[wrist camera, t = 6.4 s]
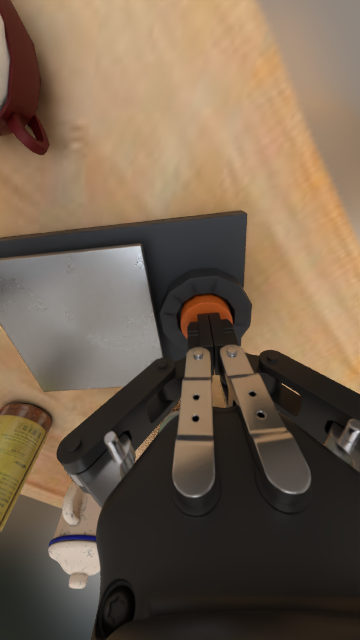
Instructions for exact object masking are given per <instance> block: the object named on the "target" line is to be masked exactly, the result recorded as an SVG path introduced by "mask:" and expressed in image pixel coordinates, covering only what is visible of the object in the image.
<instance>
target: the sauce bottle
mask: <svg viewBox="0 0 360 640" xmlns="http://www.w3.org/2000/svg"><path fill="white" fill-rule="evenodd" d="M50 427H51V418H50V417H49V415H48V414H47V413H46V412H44V411H43V410H42V409H40V408H38V407H35V406H33V405H30V404H22V403H11V404H8V405H6V406H4V407H3V408H1V410H0V533H1V531H2V529H3V527H4V525H5V523H6V521H7V519H8V517H9V515H10V512H11V510H12V508H13V506H14V504H15V502H16V500H17V498H18V496H19V494H20V492H21V490H22V488H23V486H24V484H25V482H26V479H27V477H28V475H29V473H30V471H31V469H32V467H33V465H34V463H35V461H36V459H37V457H38V455H39V453H40V451H41V449H42V446H43V444H44V442H45V440H46V438H47V436H48V431H49V429H50Z"/></svg>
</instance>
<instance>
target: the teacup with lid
mask: <svg viewBox="0 0 360 640" xmlns="http://www.w3.org/2000/svg"><path fill="white" fill-rule="evenodd" d="M62 511H63V513H62V515H61V518H60V521H59V524H58V526H57V529H56V532H55V535H54V538H53V540H51V542H50V543H49V555H50V557H51V558H53V559H54V560H56V561H58V562H59V563H60V565H61V566H62V568H63V569H64V571H65V572H67V573H68V574H71V577H70V580H69V587H71V588H76V589H80V588H84V587H85V585H86V584H87V578H88V577H87V576H91V575H94V574H96V573H98V572H99V571H100V562H99V556H98V551H97V545H96V528H97V522H98V518H99V515H100V512H101V507H100V506H99V505H98V504H97V502H96V501H95V500H94V499H93V497H92V496H91V495H90V494H87V493H84V492H83V491H82V490H81V488H80V487H79V486H78V485H77V484H75V482H74V481H73V482H72V483H71V484H70V486H69V488H68V490H67V492H66V494H65V497H64V501H63V507H62Z"/></svg>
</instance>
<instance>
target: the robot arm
mask: <svg viewBox="0 0 360 640" xmlns="http://www.w3.org/2000/svg"><path fill="white" fill-rule="evenodd" d="M197 320H198V321H196V322H190V323H189V325H188V326H187V334H188V352H187V355H186V356H185V357H184V358H182V359H180V360H178V361H175V362H174V361H173V360H172V359H171V358H167V357H163V358H159V359H156V360H155V361H154V362H152V363H151V364H150V365H149V366H148V367H147V368H145V369H144V370H143V371H142V372H141V373H140V374H138V375H137V376H136V377H135V378H134V379H133V380H131V381H130V382H129V383H128V384H127V385H126V386H124V387H123V388H122V389H121V390H120V391H119V392H117V393H116V394H115V395H114V396H113V397H112V398H110V399H109V400H108V401H107V402H106V403H105V404H103V405H102V406H101V407H100V408H99V409H98V410H96V411H95V412H94V413H93V414H92V415H91V416H89V417H88V418H87V419H86V420H85V421H84V422H82V423H81V424H80V425H79V426H78V427H77V428H75V429H74V430H73V431H72V432H71V433H70V434H68V435H67V436H66V437H65V438H64V439H63V440H62V441H61V443H60V444H59V446H58V449H57V458H58V460H59V461H60V463H61V464H62V465H63V466H64V469H65V471H66V472H67V474H68V475H69V476H70V477H71V479H72V480H73V481H74V482H75V484H77V485H78V486H79V487H80V488H81V490H82V491H83V492H84V493H87V494H90V495H91V496H92V497H93V499H94V500H95V501H96V502H97V504H98V505H99V506H100V507H101V512H100V515H99V518H98V522H97V528H96V545H97V551H98V556H99V562H100V575H101V583H100V584H101V585H100V598H99V605H98V610H97V615H96V619H95V623H94V627H93V631H92V636H91V640H360V394H358V393H356V392H355V391H353V390H351V389H349V388H347V387H345V386H343V385H341V384H339V383H337V382H335V381H334V380H332V379H330V378H328V377H326V376H324V375H322V374H320V373H318V372H316V371H314V370H312V369H311V368H309V367H307V366H305V365H303V364H301V363H299V362H297V361H295V360H293V359H291V358H290V357H288V356H286V355H284V354H282V353H280V352H278V351H274V350H266V351H263V352H262V353H260V355H259V356H257V355H251V354H248V353H245V352H244V350H243V349H242V348H241V347H240V346H239V343H238V340H237V337H236V334H235V331H234V329H233V325H232V323H231V322H230V321H229V320H228V319H221V318H220V314H219V312H218V313H208V314H207V313H206V314H197ZM214 369H215V375H219V376H220V387H221V390H222V394H223V397H224V401H225V405H226V408H219V407H213V406H212V386H211V384H212V375H214ZM282 383H283V384H285V385H286V386H288V387H289V388H291V389H293V390H294V391H296V392H297V393H299V394H300V396H299V395H298V394H296V393H294V392H293V391H291V390H290V389H288V388H287V387H285V386H283V385H282ZM180 398H181V400H180ZM179 400H180V410H179V415H177V416H175V417H174V418H172V419H171V420H170V421H169V422H168V423H167V424H166V425H165V426H164V427H163V429H162V430H161V431H160V432H159V434H158V435H157V436H156V437H155V439H154V440H153V441H152V442H151V444H150V445H149V446H148V447H147V449H146V450H145V451H144V452H143V453H142V455H141V456H140V457H139V458H138V460H137V461H136V462H135V458H136V455H135V450H136V449H137V448H138V447H139V446H140V445H141V444H142V443H143V441H144V440H145V439H146V438H147V437H148V436H149V435H150V434H151V432H152V431H153V430H154V429H155V428H156V427H157V426H158V425H159V423H160V422H161V421H162V420H163V419H164V418H165V417H166V415H167V414H168V413H169V412H170V411H171V410H172V409H173V408H174V406H175V405H176V404H177V403H178V402H179ZM279 412H280V413H279ZM319 441H320V442H319ZM323 444H324V445H325V446H324V445H323ZM134 462H135V463H134ZM133 464H134V465H133Z"/></svg>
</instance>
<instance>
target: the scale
mask: <svg viewBox="0 0 360 640" xmlns="http://www.w3.org/2000/svg"><path fill="white" fill-rule="evenodd" d="M246 226H247V213H245V212H243V211H233V212H224V213H215V214H207V215H198V216H189V217H180V218H171V219H162V220H154V221H145V222H136V223H127V224H118V225H109V226H101V227H92V228H83V229H74V230H65V231H56V232H47V233H39V234H30V235H21V236H12V237H3V238H0V258H7V257H16V256H25V255H35V254H44V253H54V252H63V251H72V250H82V249H91V248H100V247H110V246H119V245H128V244H138V243H142V244H143V249H144V255H145V260H146V265H147V270H148V276H149V281H150V286H151V291H152V297H153V302H154V307H155V312H156V318H157V323H158V328H159V333H160V339H161V344H162V349H163V354H164V357H167V358H171V359H172V360H173V361H174V362H175V361H178V360H180V359H182V358H184V357H185V356H186V355H187V352H188V339H187V338H186V337H185V336H184V334H183V333H182V330H181V309H182V307H183V305H184V303H185V302H186V301H187V300H188V299H189V298H191V297H192V296H194V295H196V294H206V293H214V294H216V295H219V296H220V297H222V298H223V299H224V300H225V301H226V303H227V305H228V307H229V310H230V313H231V316H232V320H233V324H232V325H233V329H234V331H235V334H236V337H237V340H238V343H239V346H240V347H241V337H242V336H243V334H244V333H245V332H246V330H247V329H248V328H249V326H250V323H251V309H252V304H251V302H250V300H249V298H248V296H247V294H246V293H245V291H244V290H243V286H244V266H245V246H246Z"/></svg>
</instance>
